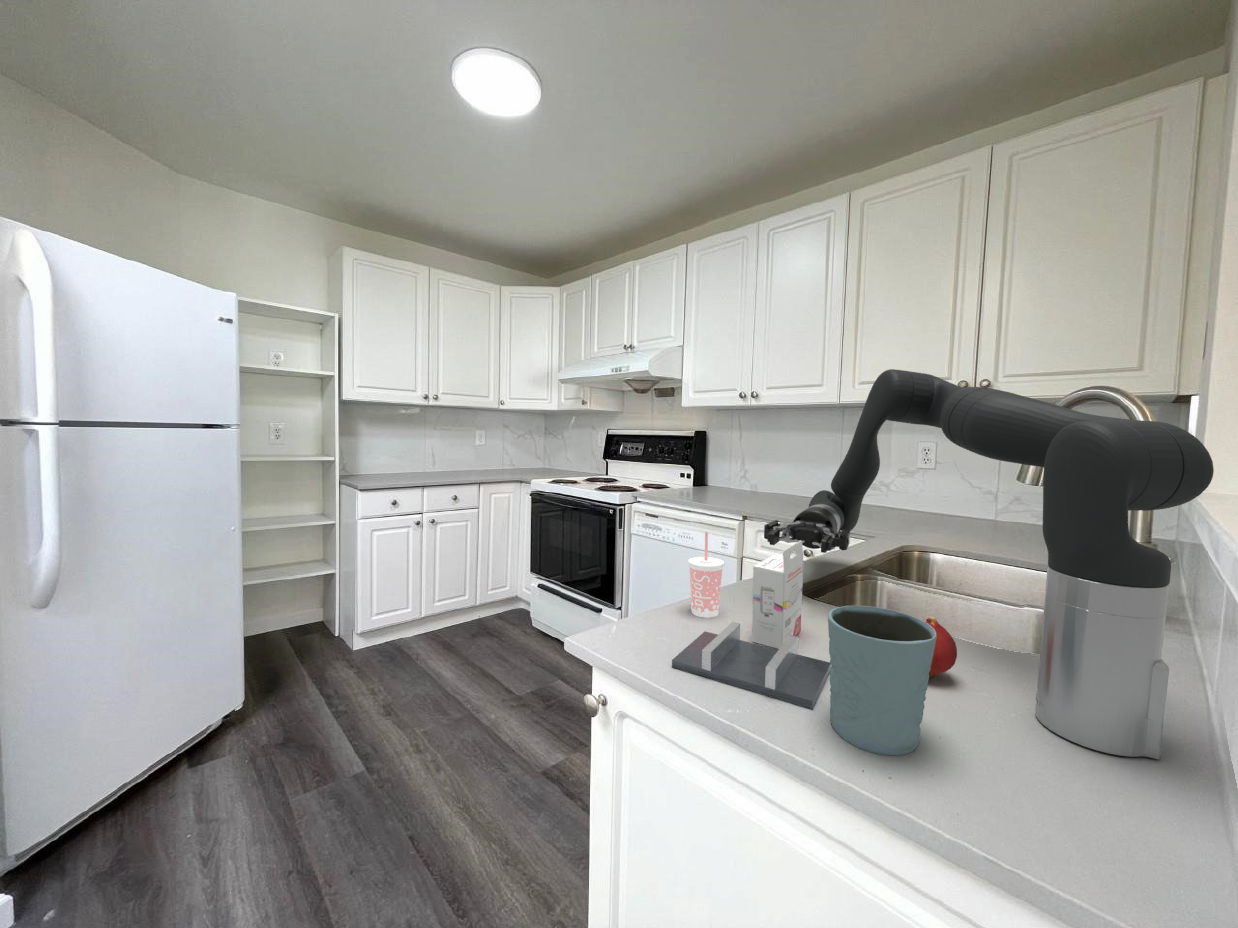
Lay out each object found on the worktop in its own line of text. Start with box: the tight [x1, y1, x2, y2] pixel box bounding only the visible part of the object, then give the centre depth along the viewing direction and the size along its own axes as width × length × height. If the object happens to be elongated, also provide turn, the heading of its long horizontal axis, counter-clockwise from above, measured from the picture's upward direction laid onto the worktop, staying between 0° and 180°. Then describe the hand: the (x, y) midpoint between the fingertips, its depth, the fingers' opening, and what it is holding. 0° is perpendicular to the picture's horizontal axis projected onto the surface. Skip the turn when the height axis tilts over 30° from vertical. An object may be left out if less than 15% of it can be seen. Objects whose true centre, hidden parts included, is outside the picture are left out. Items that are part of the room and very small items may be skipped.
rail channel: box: [671, 621, 831, 710], centre depth 68 cm, size 18×11×4 cm, turn 57°
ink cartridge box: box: [751, 540, 804, 650], centre depth 77 cm, size 9×5×15 cm, turn 143°
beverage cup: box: [687, 531, 725, 619], centre depth 87 cm, size 6×6×14 cm
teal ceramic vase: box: [827, 605, 937, 756], centre depth 54 cm, size 10×10×12 cm
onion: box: [925, 616, 958, 678], centre depth 66 cm, size 6×6×8 cm
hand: (796, 542), depth 86 cm, fingers open, 8 cm apart
